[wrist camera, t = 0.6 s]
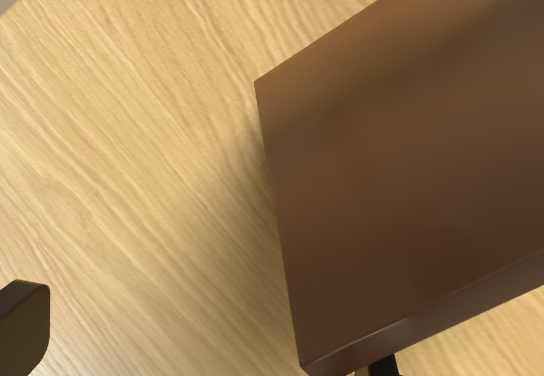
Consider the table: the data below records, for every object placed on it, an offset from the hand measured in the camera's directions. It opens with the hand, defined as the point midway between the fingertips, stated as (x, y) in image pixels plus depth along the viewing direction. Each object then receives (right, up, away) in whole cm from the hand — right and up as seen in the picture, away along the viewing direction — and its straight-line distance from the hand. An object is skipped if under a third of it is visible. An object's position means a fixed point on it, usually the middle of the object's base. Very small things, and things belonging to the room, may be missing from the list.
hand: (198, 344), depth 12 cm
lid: (+7, +7, +1) cm, 10 cm away
